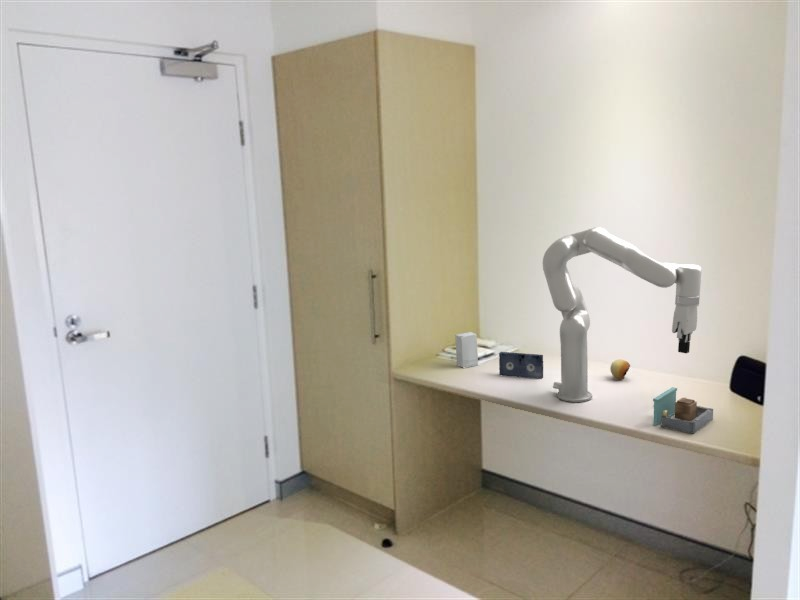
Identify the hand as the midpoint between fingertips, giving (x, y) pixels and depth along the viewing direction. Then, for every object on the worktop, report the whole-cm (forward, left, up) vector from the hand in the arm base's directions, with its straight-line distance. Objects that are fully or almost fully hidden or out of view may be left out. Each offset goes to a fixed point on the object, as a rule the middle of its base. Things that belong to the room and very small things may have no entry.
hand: (683, 352), depth 224 cm
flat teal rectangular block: (+1, -16, -19) cm, 25 cm away
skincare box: (-94, -5, -20) cm, 96 cm away
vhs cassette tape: (-65, -4, -20) cm, 68 cm away
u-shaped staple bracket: (+8, -15, -19) cm, 26 cm away
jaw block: (+7, -15, -19) cm, 26 cm away
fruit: (-31, +16, -20) cm, 40 cm away
